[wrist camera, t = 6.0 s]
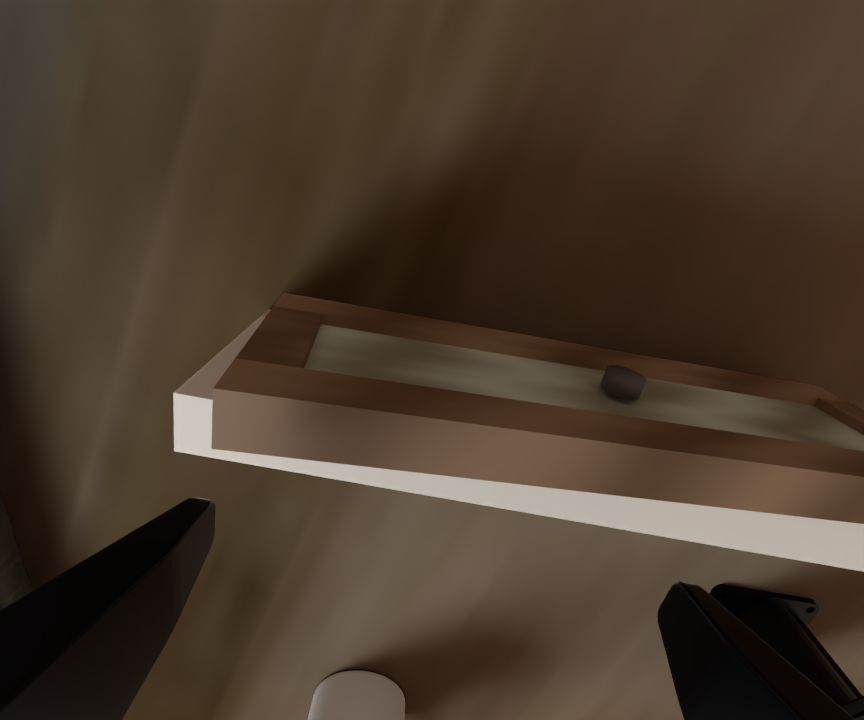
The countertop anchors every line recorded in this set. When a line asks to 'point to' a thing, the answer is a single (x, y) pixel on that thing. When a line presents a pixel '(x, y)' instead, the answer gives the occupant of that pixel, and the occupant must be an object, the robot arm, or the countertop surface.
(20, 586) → the open lidded box
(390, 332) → the picture frame
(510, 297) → the countertop surface
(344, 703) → the mug
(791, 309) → the countertop surface
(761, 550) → the long wooden tray
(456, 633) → the countertop surface
